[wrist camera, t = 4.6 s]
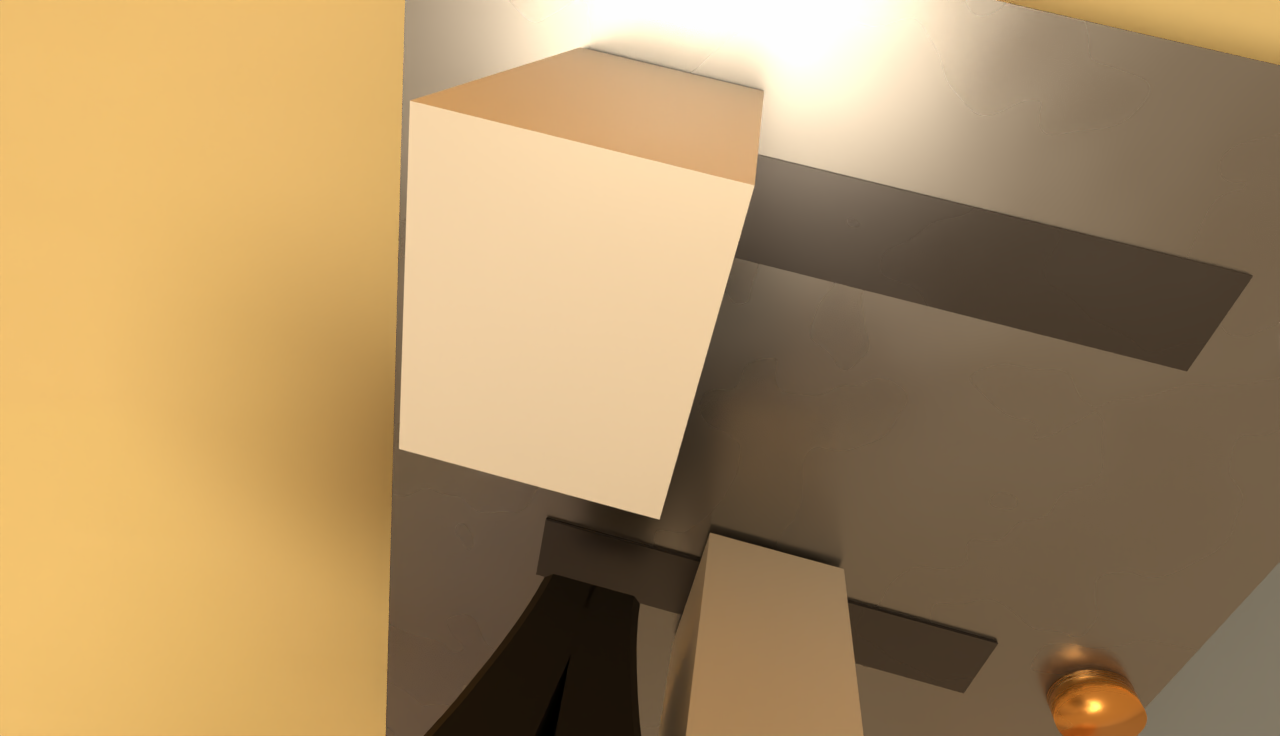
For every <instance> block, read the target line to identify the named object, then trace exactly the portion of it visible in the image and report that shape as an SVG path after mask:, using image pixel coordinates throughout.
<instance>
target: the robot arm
mask: <svg viewBox="0 0 1280 736" xmlns="http://www.w3.org/2000/svg"><path fill="white" fill-rule="evenodd" d="M639 609H640V603H639V602H638V600H637V599H636V598H635V596H633V595H629V594H625V593H622V592H618V591H614V590H611V589H607V588H603V587H600V586H596V585H592V584H589V583H585V582H582V581H578V580H574V579H571V578H567V577H563V576H560V575H556V574H551V575H549V576H547V577H544V579H543V581H542V582H541V584H540V586H539V588H538V590H537V591H536V593H535V595H534V596H533V598H532V599H531V601H530V602H529V604H528V606H527V607H526V609H525V610H524V612H523V613H522V615H521V616H520V618H519V619H518V620H517V622H516V623H515V625H514V626H513V627H512V629H511V630H510V632H509V633H508V634H507V636H506V637H505V638H504V640H503V641H502V642H501V644H500V645H499V646H498V648H497V649H496V650H495V652H494V653H493V654H492V656H491V657H490V658H489V659H488V661H487V662H486V663H485V664H484V665H483V667H482V668H481V669H480V670H479V672H478V673H477V674H476V675H475V677H474V678H473V679H472V680H471V681H470V683H469V684H468V685H467V686H466V688H465V689H464V690H463V691H462V692H461V694H460V695H459V696H458V697H457V699H456V700H455V701H454V702H453V703H452V704H451V706H450V707H449V708H448V709H447V710H446V711H445V713H444V714H443V715H442V716H441V717H440V718H439V719H438V720H437V721H436V723H435V724H434V725H433V726H432V727H431V728H430V729H429V730H428V731H427V732H426V734H425V735H424V736H641V728H640V718H639V704H638V684H637V629H638V616H639Z"/></svg>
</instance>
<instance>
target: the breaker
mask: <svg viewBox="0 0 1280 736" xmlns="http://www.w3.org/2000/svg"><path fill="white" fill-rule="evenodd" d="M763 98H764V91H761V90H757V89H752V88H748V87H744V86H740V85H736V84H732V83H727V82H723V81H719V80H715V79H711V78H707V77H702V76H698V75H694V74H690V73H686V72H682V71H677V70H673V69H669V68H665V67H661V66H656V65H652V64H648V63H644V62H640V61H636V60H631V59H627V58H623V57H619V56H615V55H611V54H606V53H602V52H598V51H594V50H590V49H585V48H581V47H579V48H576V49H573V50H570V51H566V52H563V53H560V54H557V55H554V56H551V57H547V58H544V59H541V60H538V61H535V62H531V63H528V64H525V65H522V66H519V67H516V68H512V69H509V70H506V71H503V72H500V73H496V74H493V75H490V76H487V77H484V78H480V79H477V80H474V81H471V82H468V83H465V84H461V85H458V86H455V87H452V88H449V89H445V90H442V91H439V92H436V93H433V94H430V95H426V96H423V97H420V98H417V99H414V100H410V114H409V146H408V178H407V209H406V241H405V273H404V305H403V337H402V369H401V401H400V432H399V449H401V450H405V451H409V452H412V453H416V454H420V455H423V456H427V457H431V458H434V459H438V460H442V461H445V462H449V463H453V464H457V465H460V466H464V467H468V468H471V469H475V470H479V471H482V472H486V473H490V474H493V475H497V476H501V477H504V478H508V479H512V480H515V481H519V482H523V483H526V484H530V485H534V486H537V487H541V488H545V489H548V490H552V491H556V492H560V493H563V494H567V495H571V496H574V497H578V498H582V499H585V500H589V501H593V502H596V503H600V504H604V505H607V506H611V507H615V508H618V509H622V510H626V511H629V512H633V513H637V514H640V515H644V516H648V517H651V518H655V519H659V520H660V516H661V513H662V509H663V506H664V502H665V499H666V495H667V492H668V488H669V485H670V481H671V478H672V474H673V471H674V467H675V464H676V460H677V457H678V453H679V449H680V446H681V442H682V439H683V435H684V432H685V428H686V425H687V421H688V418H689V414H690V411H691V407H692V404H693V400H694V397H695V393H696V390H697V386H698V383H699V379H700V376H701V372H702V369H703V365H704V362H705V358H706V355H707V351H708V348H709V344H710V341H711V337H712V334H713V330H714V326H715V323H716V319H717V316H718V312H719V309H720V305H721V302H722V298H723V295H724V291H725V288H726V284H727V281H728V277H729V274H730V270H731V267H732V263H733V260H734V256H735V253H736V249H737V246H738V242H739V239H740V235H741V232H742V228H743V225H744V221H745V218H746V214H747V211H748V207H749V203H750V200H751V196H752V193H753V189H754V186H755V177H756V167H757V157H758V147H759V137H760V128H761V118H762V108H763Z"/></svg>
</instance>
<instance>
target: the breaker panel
mask: <svg viewBox="0 0 1280 736" xmlns="http://www.w3.org/2000/svg"><path fill="white" fill-rule="evenodd" d="M579 47H581V48H585V49H590V50H594V51H598V52H602V53H606V54H611V55H615V56H619V57H623V58H627V59H631V60H636V61H640V62H644V63H648V64H652V65H656V66H661V67H665V68H669V69H673V70H677V71H682V72H686V73H690V74H694V75H698V76H702V77H707V78H711V79H715V80H719V81H723V82H727V83H732V84H736V85H740V86H744V87H748V88H752V89H757V90H761V91H764V98H763V108H762V118H761V128H760V137H759V147H758V157H757V167H756V177H755V186H754V189H753V193H752V196H751V200H750V203H749V207H748V211H747V214H746V218H745V221H744V225H743V228H742V232H741V235H740V239H739V242H738V246H737V249H736V253H735V256H734V260H733V263H732V267H731V270H730V274H729V277H728V281H727V284H726V288H725V291H724V295H723V298H722V302H721V305H720V309H719V312H718V316H717V319H716V323H715V326H714V330H713V334H712V337H711V341H710V344H709V348H708V351H707V355H706V358H705V362H704V365H703V369H702V372H701V376H700V379H699V383H698V386H697V390H696V393H695V397H694V400H693V404H692V407H691V411H690V414H689V418H688V421H687V425H686V428H685V432H684V435H683V439H682V442H681V446H680V449H679V453H678V457H677V460H676V464H675V467H674V471H673V474H672V478H671V481H670V485H669V488H668V492H667V495H666V499H665V502H664V506H663V509H662V513H661V516H660V520H659V519H655V518H651V517H648V516H644V515H640V514H637V513H633V512H629V511H626V510H622V509H618V508H615V507H611V506H607V505H604V504H600V503H596V502H593V501H589V500H585V499H582V498H578V497H574V496H571V495H567V494H563V493H560V492H556V491H552V490H548V489H545V488H541V487H537V486H534V485H530V484H526V483H523V482H519V481H515V480H512V479H508V478H504V477H501V476H497V475H493V474H490V473H486V472H482V471H479V470H475V469H471V468H468V467H464V466H460V465H457V464H453V463H449V462H445V461H442V460H438V459H434V458H431V457H427V456H423V455H420V454H416V453H412V452H409V451H405V450H401V449H399V432H400V401H401V369H402V337H403V305H404V273H405V241H406V209H407V178H408V146H409V114H410V100H414V99H417V98H420V97H423V96H426V95H430V94H433V93H436V92H439V91H442V90H445V89H449V88H452V87H455V86H458V85H461V84H465V83H468V82H471V81H474V80H477V79H480V78H484V77H487V76H490V75H493V74H496V73H500V72H503V71H506V70H509V69H512V68H516V67H519V66H522V65H525V64H528V63H531V62H535V61H538V60H541V59H544V58H547V57H551V56H554V55H557V54H560V53H563V52H566V51H570V50H573V49H576V48H579ZM710 533H713V534H717V535H721V536H724V537H728V538H732V539H735V540H739V541H743V542H746V543H750V544H754V545H757V546H761V547H765V548H768V549H772V550H776V551H779V552H783V553H787V554H791V555H794V556H798V557H802V558H805V559H809V560H813V561H816V562H820V563H824V564H827V565H831V566H835V567H838V568H842V569H844V574H845V583H846V591H847V600H848V608H849V617H850V625H851V633H852V642H853V650H854V659H855V667H856V676H857V684H858V693H859V701H860V710H861V718H862V726H863V735H864V736H1137V735H1138V734H1139V733H1140V732H1141V731H1142V730H1143V729H1144V727H1145V725H1146V723H1147V714H1146V711H1145V708H1146V707H1147V706H1148V705H1149V703H1150V702H1151V701H1152V700H1153V699H1154V698H1155V697H1156V696H1157V695H1158V694H1159V693H1160V691H1161V690H1162V689H1163V688H1164V687H1165V686H1166V685H1167V684H1168V683H1169V682H1170V681H1171V680H1172V678H1173V677H1174V676H1175V675H1176V674H1177V673H1178V672H1179V671H1180V670H1181V669H1182V668H1183V666H1184V665H1185V664H1186V663H1187V662H1188V661H1189V660H1190V659H1191V658H1192V657H1193V656H1194V654H1195V653H1196V652H1197V651H1198V650H1199V649H1200V648H1201V647H1202V646H1203V645H1204V644H1205V643H1206V641H1207V640H1208V639H1209V638H1210V637H1211V636H1212V635H1213V634H1214V633H1215V632H1216V631H1217V629H1218V628H1219V627H1220V626H1221V625H1222V624H1223V623H1224V622H1225V621H1226V620H1227V619H1228V618H1229V616H1230V615H1231V614H1232V613H1233V612H1234V611H1235V610H1236V609H1237V608H1238V607H1239V606H1240V604H1241V603H1242V602H1243V601H1244V600H1245V599H1246V598H1247V597H1248V596H1249V595H1250V594H1251V592H1252V591H1253V590H1254V589H1255V588H1256V587H1257V586H1258V585H1259V584H1260V583H1261V582H1262V581H1263V579H1264V578H1265V577H1266V576H1267V575H1268V574H1269V573H1270V572H1271V571H1272V570H1273V569H1274V567H1275V566H1276V565H1277V564H1278V563H1279V562H1280V65H1276V64H1271V63H1267V62H1263V61H1258V60H1254V59H1250V58H1245V57H1241V56H1236V55H1232V54H1228V53H1223V52H1219V51H1215V50H1210V49H1206V48H1202V47H1197V46H1193V45H1188V44H1184V43H1180V42H1175V41H1171V40H1167V39H1162V38H1158V37H1154V36H1149V35H1145V34H1141V33H1136V32H1132V31H1127V30H1123V29H1119V28H1114V27H1110V26H1106V25H1101V24H1097V23H1093V22H1088V21H1084V20H1079V19H1075V18H1071V17H1066V16H1062V15H1058V14H1053V13H1049V12H1045V11H1040V10H1036V9H1031V8H1027V7H1023V6H1018V5H1014V4H1010V3H1005V2H1001V1H997V0H405V25H404V63H403V101H402V139H401V177H400V215H399V253H398V291H397V329H396V367H395V405H394V443H393V481H392V519H391V557H390V595H389V633H388V671H387V709H386V736H424V735H425V734H426V732H427V731H428V730H429V729H430V728H431V727H432V726H433V725H434V724H435V723H436V721H437V720H438V719H439V718H440V717H441V716H442V715H443V714H444V713H445V711H446V710H447V709H448V708H449V707H450V706H451V704H452V703H453V702H454V701H455V700H456V699H457V697H458V696H459V695H460V694H461V692H462V691H463V690H464V689H465V688H466V686H467V685H468V684H469V683H470V681H471V680H472V679H473V678H474V677H475V675H476V674H477V673H478V672H479V670H480V669H481V668H482V667H483V665H484V664H485V663H486V662H487V661H488V659H489V658H490V657H491V656H492V654H493V653H494V652H495V650H496V649H497V648H498V646H499V645H500V644H501V642H502V641H503V640H504V638H505V637H506V636H507V634H508V633H509V632H510V630H511V629H512V627H513V626H514V625H515V623H516V622H517V620H518V619H519V618H520V616H521V615H522V613H523V612H524V610H525V609H526V607H527V606H528V604H529V602H530V601H531V599H532V598H533V596H534V595H535V593H536V591H537V590H538V588H539V586H540V584H541V582H542V581H543V579H544V577H547V576H549V575H551V574H556V575H560V576H563V577H567V578H571V579H574V580H578V581H582V582H585V583H589V584H592V585H596V586H600V587H603V588H607V589H611V590H614V591H618V592H622V593H625V594H629V595H633V596H635V598H636V599H637V600H638V602H639V603H640V609H639V616H638V629H637V684H638V704H639V718H640V728H641V736H658V734H659V728H660V722H661V715H662V709H663V702H664V696H665V689H666V683H667V677H668V670H669V664H670V657H671V651H672V644H673V641H674V638H675V635H676V632H677V629H678V626H679V623H680V620H681V617H682V614H683V611H684V608H685V605H686V602H687V599H688V596H689V593H690V591H691V588H692V585H693V582H694V579H695V576H696V573H697V570H698V567H699V564H700V561H701V558H702V555H703V552H704V549H705V546H706V543H707V540H708V537H709V534H710Z"/></svg>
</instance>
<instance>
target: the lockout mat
mask: <svg viewBox="0 0 1280 736" xmlns="http://www.w3.org/2000/svg"><path fill="white" fill-rule="evenodd" d="M1145 711H1146V714H1147V723H1146V725H1145V727H1144V729H1143V730H1142V731H1141V732H1140V733H1139V734H1138V735H1137V736H1280V562H1279V563H1278V564H1277V565H1276V566H1275V567H1274V569H1273V570H1272V571H1271V572H1270V573H1269V574H1268V575H1267V576H1266V577H1265V578H1264V579H1263V581H1262V582H1261V583H1260V584H1259V585H1258V586H1257V587H1256V588H1255V589H1254V590H1253V591H1252V592H1251V594H1250V595H1249V596H1248V597H1247V598H1246V599H1245V600H1244V601H1243V602H1242V603H1241V604H1240V606H1239V607H1238V608H1237V609H1236V610H1235V611H1234V612H1233V613H1232V614H1231V615H1230V616H1229V618H1228V619H1227V620H1226V621H1225V622H1224V623H1223V624H1222V625H1221V626H1220V627H1219V628H1218V629H1217V631H1216V632H1215V633H1214V634H1213V635H1212V636H1211V637H1210V638H1209V639H1208V640H1207V641H1206V643H1205V644H1204V645H1203V646H1202V647H1201V648H1200V649H1199V650H1198V651H1197V652H1196V653H1195V654H1194V656H1193V657H1192V658H1191V659H1190V660H1189V661H1188V662H1187V663H1186V664H1185V665H1184V666H1183V668H1182V669H1181V670H1180V671H1179V672H1178V673H1177V674H1176V675H1175V676H1174V677H1173V678H1172V680H1171V681H1170V682H1169V683H1168V684H1167V685H1166V686H1165V687H1164V688H1163V689H1162V690H1161V691H1160V693H1159V694H1158V695H1157V696H1156V697H1155V698H1154V699H1153V700H1152V701H1151V702H1150V703H1149V705H1148V706H1147V707H1146V708H1145Z"/></svg>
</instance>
